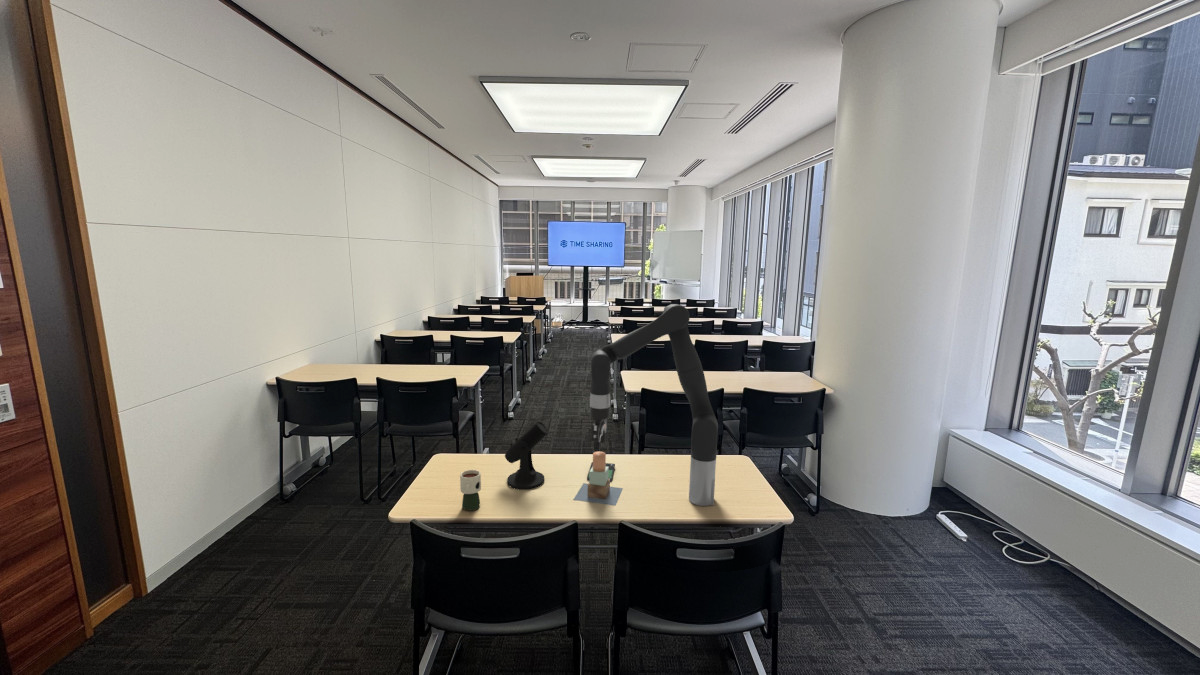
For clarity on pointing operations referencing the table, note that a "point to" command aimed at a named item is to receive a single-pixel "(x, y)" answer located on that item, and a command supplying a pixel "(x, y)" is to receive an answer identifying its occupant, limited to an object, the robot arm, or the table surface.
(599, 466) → the terracotta cylinder
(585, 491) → the slate mat
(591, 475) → the sage block
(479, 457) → the table surface
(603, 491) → the walnut block
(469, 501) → the character mug
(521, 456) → the microphone
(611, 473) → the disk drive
